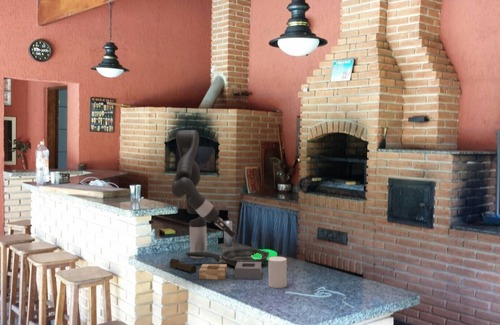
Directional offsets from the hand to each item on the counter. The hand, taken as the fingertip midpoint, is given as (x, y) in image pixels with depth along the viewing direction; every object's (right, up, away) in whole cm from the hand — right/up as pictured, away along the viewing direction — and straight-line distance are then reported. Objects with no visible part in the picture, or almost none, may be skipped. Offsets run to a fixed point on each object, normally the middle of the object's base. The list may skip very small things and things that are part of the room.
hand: (232, 234), depth 242 cm
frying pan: (-1, -19, +22) cm, 29 cm away
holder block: (+8, -20, +1) cm, 21 cm away
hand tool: (-26, -20, +12) cm, 35 cm away
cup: (+21, -21, -15) cm, 33 cm away
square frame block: (-9, -20, +1) cm, 22 cm away
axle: (-2, -6, 0) cm, 6 cm away
